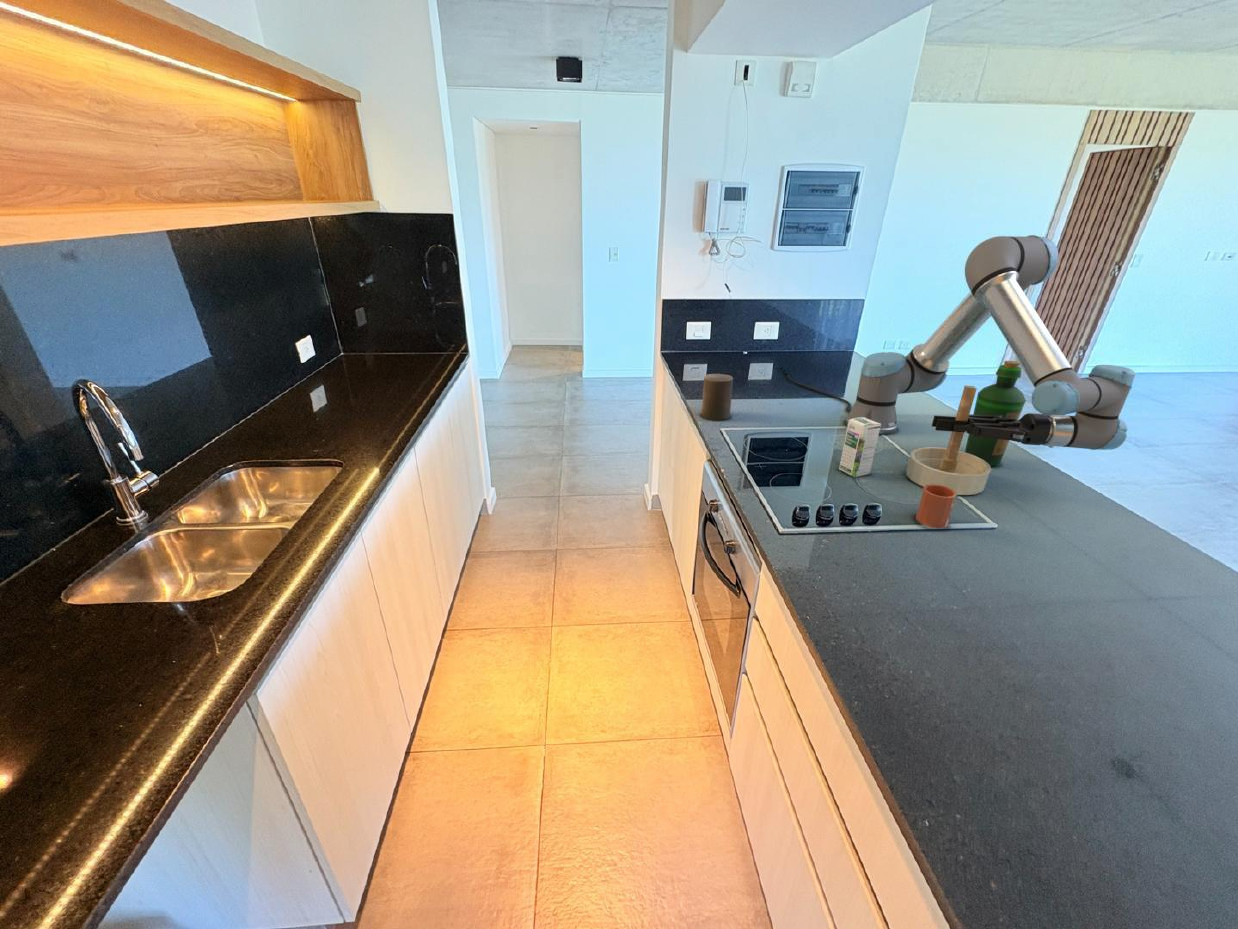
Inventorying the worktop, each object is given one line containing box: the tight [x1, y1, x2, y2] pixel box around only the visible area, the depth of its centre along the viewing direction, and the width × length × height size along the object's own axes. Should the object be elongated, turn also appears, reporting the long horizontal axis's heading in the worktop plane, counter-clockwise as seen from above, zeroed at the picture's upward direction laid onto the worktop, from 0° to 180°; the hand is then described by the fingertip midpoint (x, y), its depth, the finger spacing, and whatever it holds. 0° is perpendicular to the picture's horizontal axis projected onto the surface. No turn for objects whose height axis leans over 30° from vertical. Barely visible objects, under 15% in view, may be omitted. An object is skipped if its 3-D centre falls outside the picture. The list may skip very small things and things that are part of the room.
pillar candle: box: [700, 373, 734, 422], centre depth 179 cm, size 10×10×15 cm
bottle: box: [964, 360, 1027, 467], centre depth 142 cm, size 11×11×28 cm
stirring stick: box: [939, 385, 978, 473], centre depth 130 cm, size 3×2×24 cm, turn 78°
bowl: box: [905, 446, 992, 496], centre depth 135 cm, size 18×18×6 cm
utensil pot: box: [915, 484, 958, 529], centre depth 116 cm, size 6×6×8 cm
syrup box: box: [838, 417, 881, 478], centre depth 138 cm, size 6×6×14 cm
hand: (935, 422), depth 130 cm, fingers closed on stirring stick, 2 cm apart
